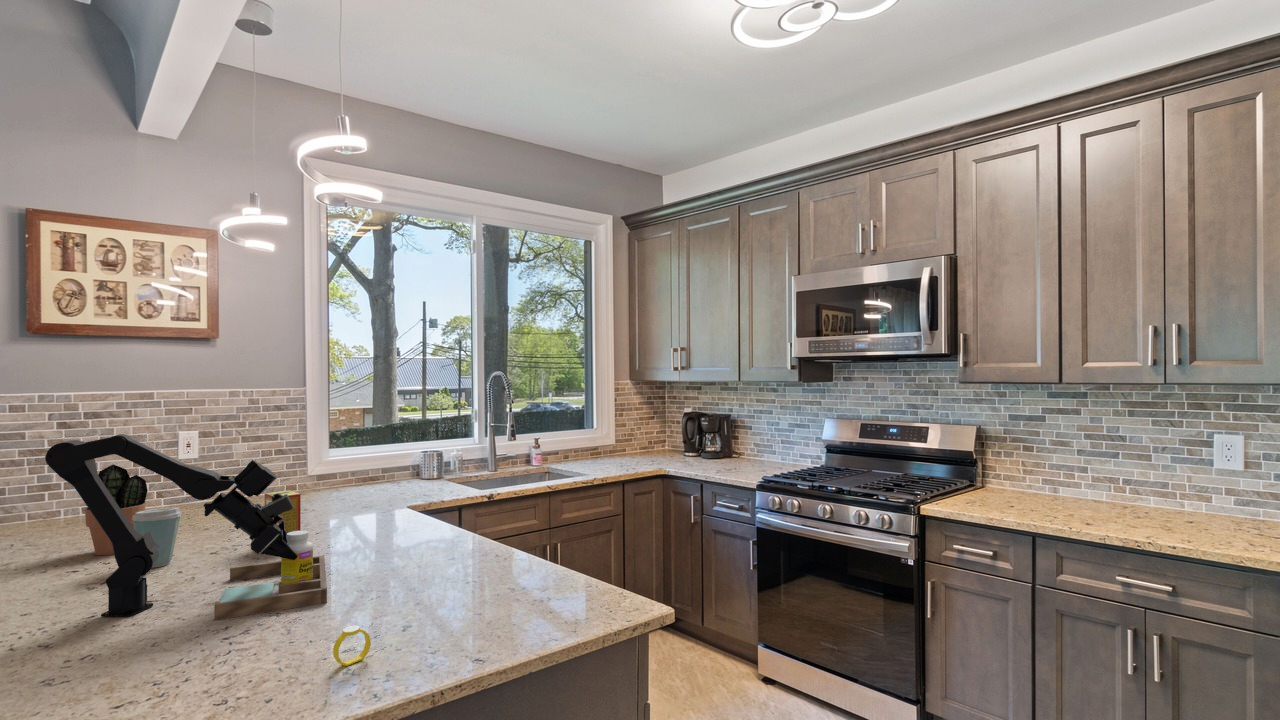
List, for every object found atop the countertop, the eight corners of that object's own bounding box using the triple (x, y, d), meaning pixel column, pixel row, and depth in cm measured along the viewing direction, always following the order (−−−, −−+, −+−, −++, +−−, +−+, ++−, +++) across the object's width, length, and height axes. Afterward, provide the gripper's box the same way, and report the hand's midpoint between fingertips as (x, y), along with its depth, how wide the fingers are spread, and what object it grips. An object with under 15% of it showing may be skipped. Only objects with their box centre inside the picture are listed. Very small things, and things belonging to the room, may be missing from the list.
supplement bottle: (299, 592, 148) (299, 536, 148) (274, 591, 149) (274, 535, 149) (319, 583, 154) (319, 529, 154) (295, 582, 155) (295, 528, 156)
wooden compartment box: (213, 620, 131) (213, 605, 131) (229, 579, 158) (229, 567, 158) (326, 602, 141) (326, 588, 141) (324, 566, 168) (324, 555, 168)
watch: (365, 654, 114) (365, 621, 114) (373, 659, 112) (373, 624, 113) (331, 666, 110) (331, 631, 110) (338, 671, 108) (338, 635, 108)
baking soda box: (300, 547, 187) (300, 492, 187) (276, 552, 182) (276, 495, 183) (288, 542, 193) (288, 489, 194) (264, 546, 189) (264, 492, 189)
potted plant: (91, 560, 176) (92, 469, 176) (78, 552, 184) (79, 465, 185) (152, 549, 187) (152, 463, 187) (137, 542, 195) (137, 460, 196)
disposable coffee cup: (123, 567, 169) (123, 510, 169) (168, 557, 178) (169, 503, 179) (144, 573, 164) (144, 514, 164) (190, 562, 173) (190, 506, 174)
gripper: (267, 491, 141) (324, 534, 146) (272, 479, 158) (322, 518, 163) (225, 531, 137) (284, 574, 142) (234, 515, 154) (287, 554, 159)
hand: (296, 553), depth 152 cm, fingers open, 9 cm apart
